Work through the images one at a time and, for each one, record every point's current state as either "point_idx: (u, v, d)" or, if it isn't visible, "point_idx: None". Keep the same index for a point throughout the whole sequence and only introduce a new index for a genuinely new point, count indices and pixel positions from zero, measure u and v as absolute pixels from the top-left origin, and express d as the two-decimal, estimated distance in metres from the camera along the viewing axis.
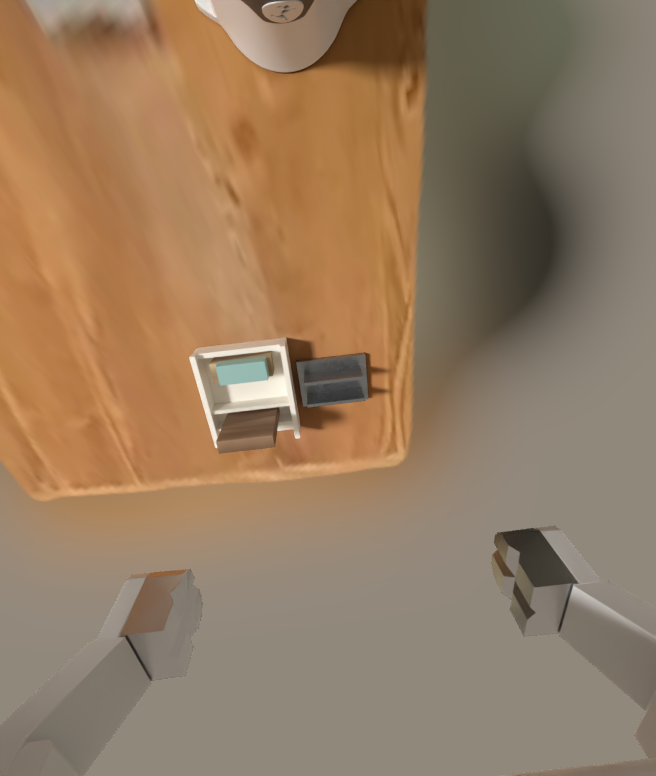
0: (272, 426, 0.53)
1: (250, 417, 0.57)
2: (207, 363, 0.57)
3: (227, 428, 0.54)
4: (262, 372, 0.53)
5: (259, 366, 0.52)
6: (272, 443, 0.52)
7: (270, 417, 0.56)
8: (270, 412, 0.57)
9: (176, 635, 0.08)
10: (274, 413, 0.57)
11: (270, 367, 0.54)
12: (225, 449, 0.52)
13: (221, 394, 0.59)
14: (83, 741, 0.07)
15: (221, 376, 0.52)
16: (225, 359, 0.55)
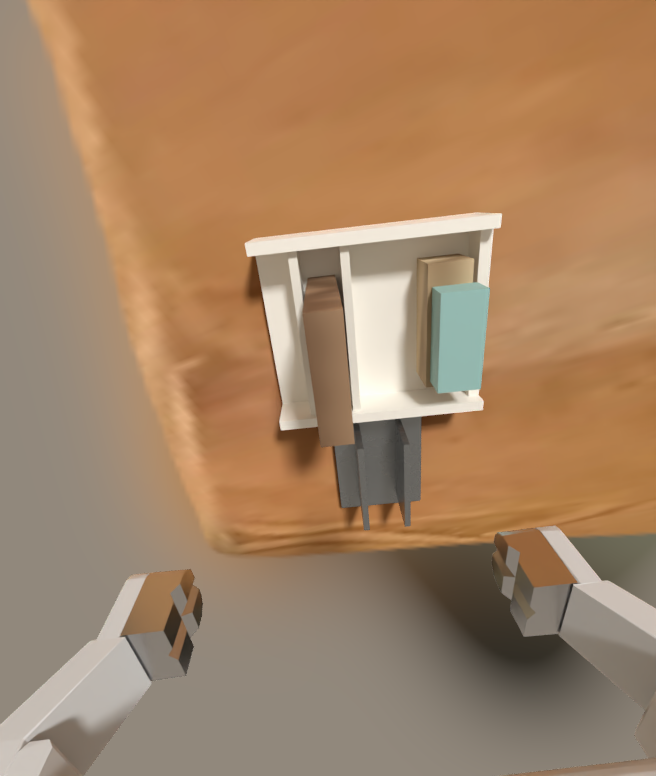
0: None
1: None
2: (447, 237, 0.26)
3: None
4: (456, 383, 0.25)
5: (470, 379, 0.25)
6: (331, 442, 0.21)
7: None
8: None
9: (176, 635, 0.08)
10: None
11: None
12: (316, 332, 0.18)
13: (369, 259, 0.26)
14: (82, 741, 0.07)
15: (463, 299, 0.23)
16: None
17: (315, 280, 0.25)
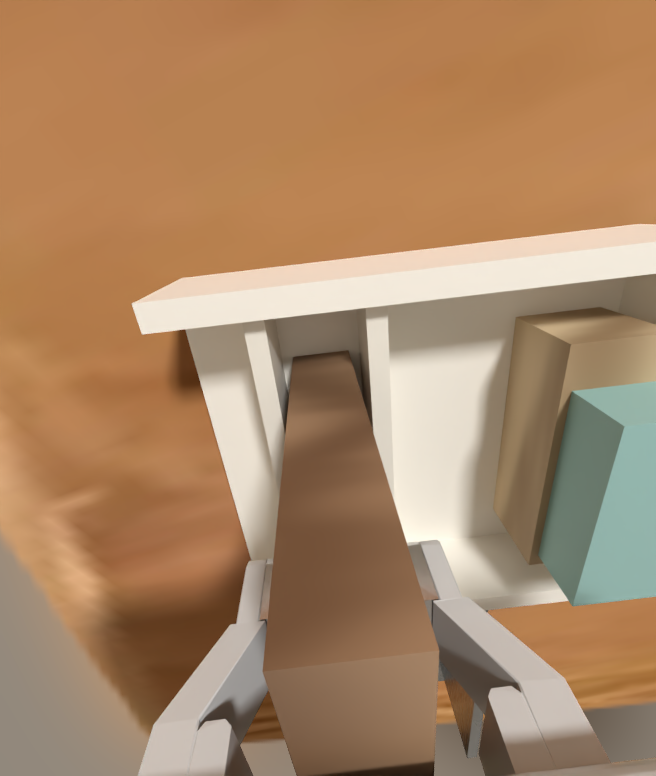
0: None
1: None
2: None
3: None
4: (614, 589, 0.12)
5: (647, 581, 0.12)
6: None
7: None
8: None
9: None
10: None
11: None
12: (322, 711, 0.05)
13: (419, 320, 0.13)
14: (234, 723, 0.07)
15: None
16: None
17: (309, 371, 0.12)
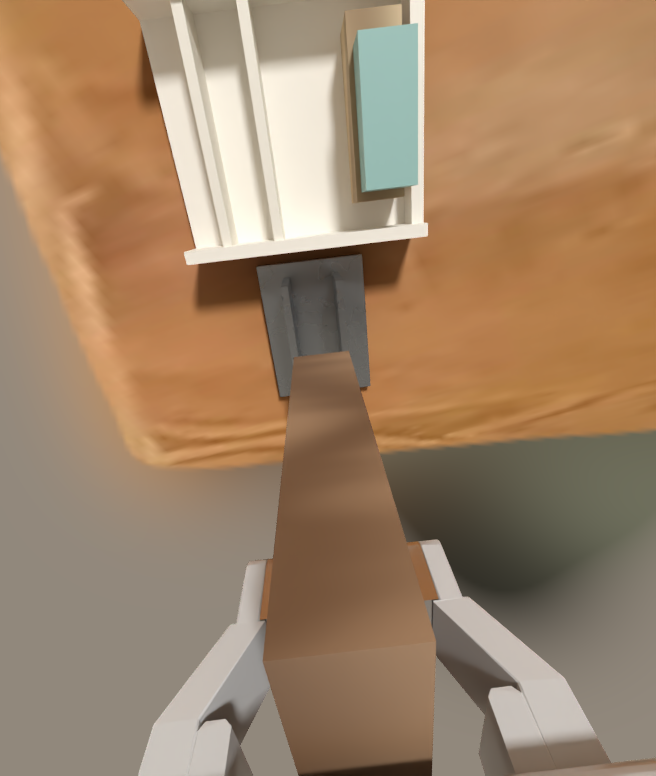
0: None
1: None
2: (374, 5, 0.21)
3: None
4: (387, 175, 0.21)
5: (405, 169, 0.21)
6: None
7: None
8: None
9: None
10: None
11: (379, 197, 0.23)
12: (321, 702, 0.05)
13: (282, 36, 0.22)
14: (234, 723, 0.07)
15: (386, 40, 0.18)
16: None
17: (310, 371, 0.12)
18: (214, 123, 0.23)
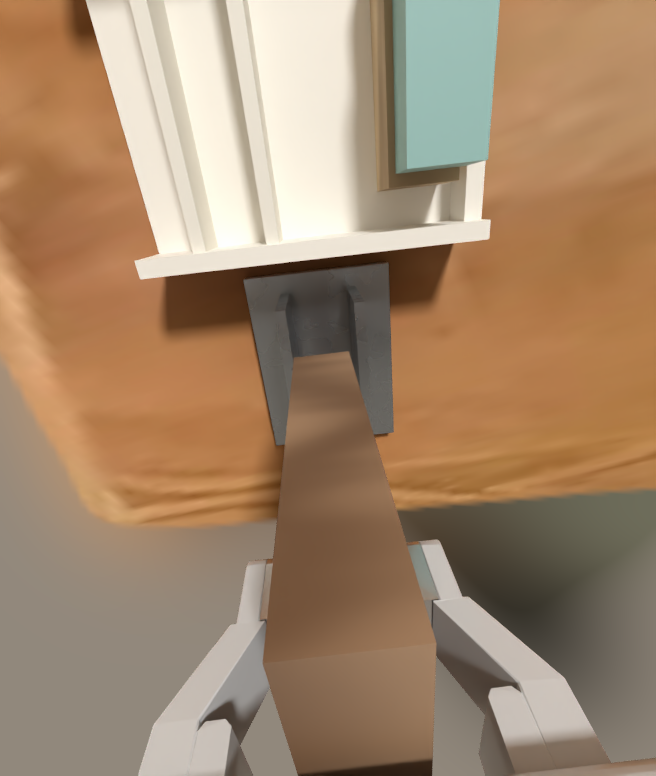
0: None
1: None
2: None
3: None
4: (441, 144, 0.13)
5: (469, 135, 0.13)
6: None
7: None
8: None
9: None
10: None
11: (421, 180, 0.15)
12: (321, 704, 0.05)
13: None
14: (234, 723, 0.07)
15: None
16: None
17: (310, 371, 0.12)
18: (178, 71, 0.16)
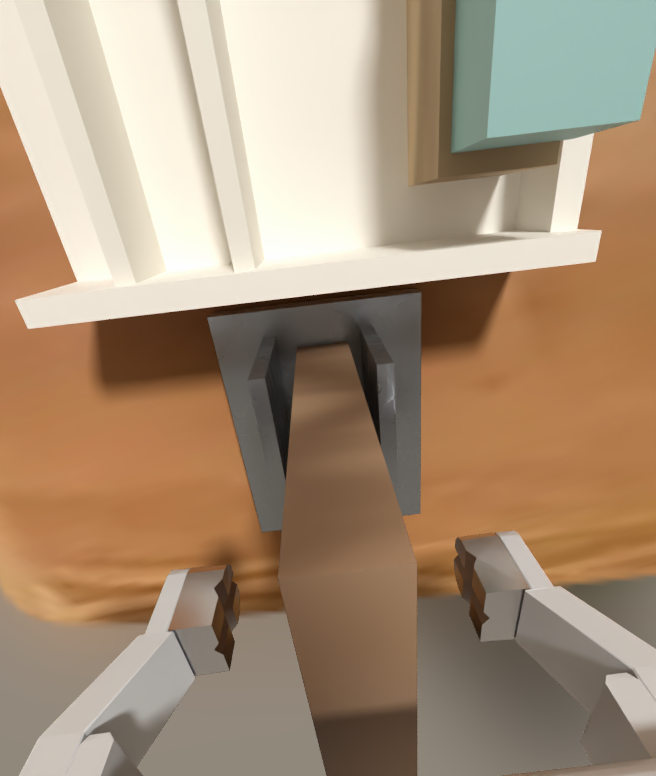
0: None
1: None
2: None
3: None
4: (555, 89, 0.07)
5: (611, 70, 0.07)
6: None
7: None
8: None
9: (220, 630, 0.08)
10: None
11: (493, 165, 0.09)
12: (324, 618, 0.06)
13: None
14: (135, 735, 0.07)
15: None
16: None
17: (312, 359, 0.13)
18: None
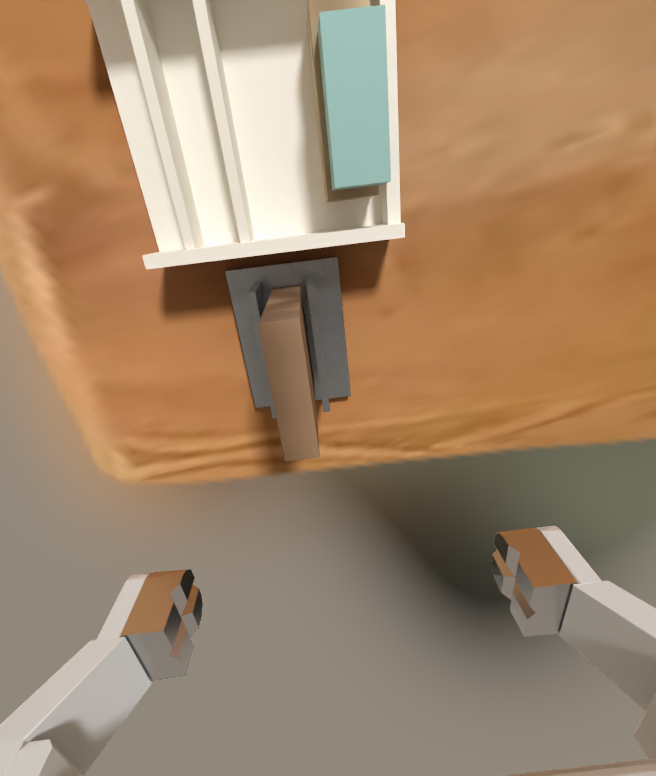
0: (317, 431, 0.23)
1: (308, 355, 0.24)
2: None
3: (302, 321, 0.21)
4: (357, 171, 0.19)
5: (376, 165, 0.19)
6: (295, 456, 0.21)
7: None
8: None
9: (176, 635, 0.08)
10: (315, 403, 0.26)
11: (351, 195, 0.21)
12: (273, 343, 0.18)
13: (244, 23, 0.20)
14: (82, 741, 0.07)
15: (351, 23, 0.17)
16: None
17: (279, 291, 0.25)
18: (173, 117, 0.22)
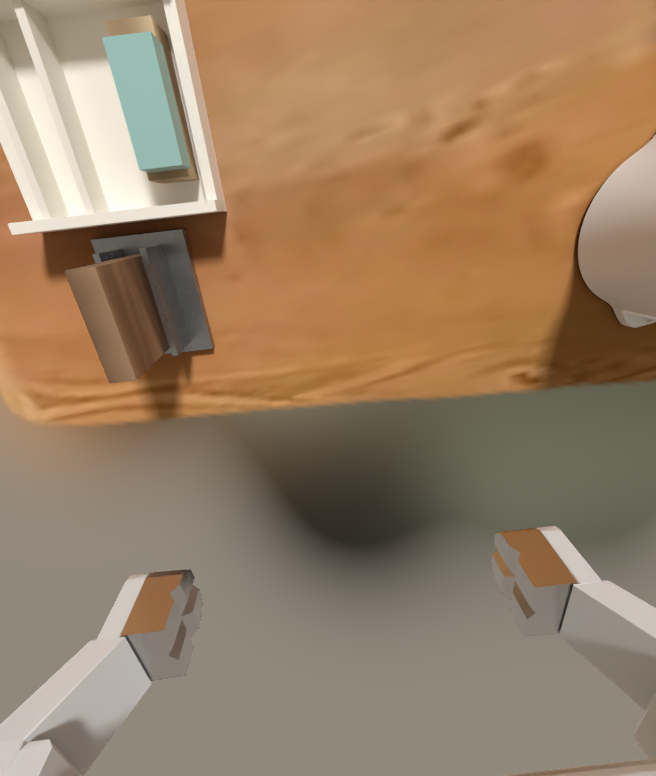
0: (148, 365, 0.29)
1: (151, 307, 0.30)
2: None
3: (124, 274, 0.27)
4: (154, 157, 0.25)
5: (168, 152, 0.25)
6: (117, 379, 0.27)
7: (159, 347, 0.31)
8: (165, 339, 0.32)
9: (176, 635, 0.08)
10: (165, 348, 0.32)
11: (167, 176, 0.27)
12: (79, 286, 0.24)
13: (76, 41, 0.26)
14: (82, 741, 0.07)
15: (127, 45, 0.22)
16: (167, 66, 0.25)
17: (131, 255, 0.31)
18: (30, 114, 0.27)
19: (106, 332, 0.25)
